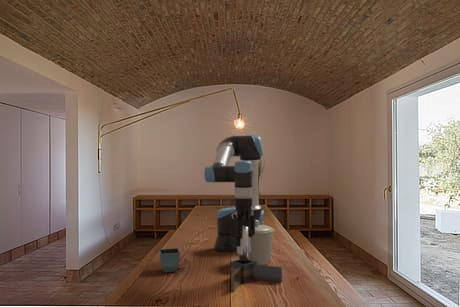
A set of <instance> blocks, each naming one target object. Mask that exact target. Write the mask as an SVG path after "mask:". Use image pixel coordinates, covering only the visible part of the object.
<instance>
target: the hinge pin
mask: <svg viewBox="0 0 460 307" xmlns="http://www.w3.org/2000/svg"><path fill="white" fill-rule="evenodd" d="M241 238H242V239H243V254H242V255H241V254H238V255H239V256H238V258H239V261H249V235H248V226H243V228H242V235H241Z"/></svg>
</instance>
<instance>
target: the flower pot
mask: <svg viewBox="0 0 460 307" xmlns="http://www.w3.org/2000/svg"><path fill="white" fill-rule="evenodd" d="M158 251H159V259H160V260H159V261H160V264H161V267H162V271H163V272H164V273H171V272H177V270H178V268H179V265H180V262H181V261H180V260H181V250H180V249H179V248H177V247H174V248H162V249H159V250H158Z"/></svg>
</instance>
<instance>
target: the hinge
mask: <svg viewBox="0 0 460 307" xmlns="http://www.w3.org/2000/svg"><path fill="white" fill-rule="evenodd" d="M230 279H231V282H230V283H231V284H230V285H231V288H230V289H231V290H230V291H231V292H235V291H236V290H237V289H238V288H239V287H240V286H241V284H243V283H244V284H245V283H247V282H252V281H264V282H275V283H282V282H283V266H277V265H268V264H267V265H257V261H253V260H249V261H239V259H235V260H231V261H230Z"/></svg>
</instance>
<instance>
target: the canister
mask: <svg viewBox="0 0 460 307" xmlns="http://www.w3.org/2000/svg"><path fill="white" fill-rule="evenodd" d="M244 226H245V225H244ZM274 232H275V229H274V228H272V227H271V226H269V225H266V224H262V225H259V221H258V220H255V234H253V237H251V252H250V253H249V260H253V261H257V265H267V266H268V264H269V263H270V261H271V257H272V256H271V255H272V250H273V249H272V247H273V236H274Z"/></svg>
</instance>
